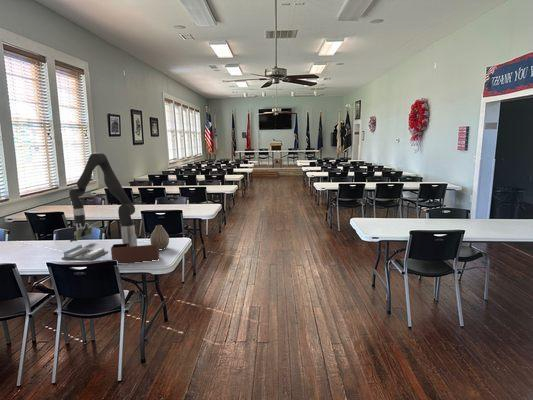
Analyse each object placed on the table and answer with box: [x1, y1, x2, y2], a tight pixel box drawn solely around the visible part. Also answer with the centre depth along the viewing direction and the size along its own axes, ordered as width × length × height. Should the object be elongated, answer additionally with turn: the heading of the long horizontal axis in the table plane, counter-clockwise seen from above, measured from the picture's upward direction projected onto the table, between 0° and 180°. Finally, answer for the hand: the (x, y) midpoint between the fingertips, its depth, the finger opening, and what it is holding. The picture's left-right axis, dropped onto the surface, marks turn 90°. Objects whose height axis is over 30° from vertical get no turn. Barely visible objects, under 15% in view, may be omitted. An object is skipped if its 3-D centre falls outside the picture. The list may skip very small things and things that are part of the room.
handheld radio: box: [69, 225, 93, 243], centre depth 272 cm, size 7×3×25 cm
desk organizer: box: [110, 243, 160, 264], centre depth 236 cm, size 10×29×11 cm, turn 104°
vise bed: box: [61, 247, 109, 261], centre depth 249 cm, size 22×18×3 cm
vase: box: [149, 224, 170, 250], centre depth 261 cm, size 13×13×18 cm
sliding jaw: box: [63, 244, 88, 257], centre depth 250 cm, size 6×16×4 cm, turn 171°
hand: (81, 236), depth 272 cm, fingers closed on handheld radio, 3 cm apart
